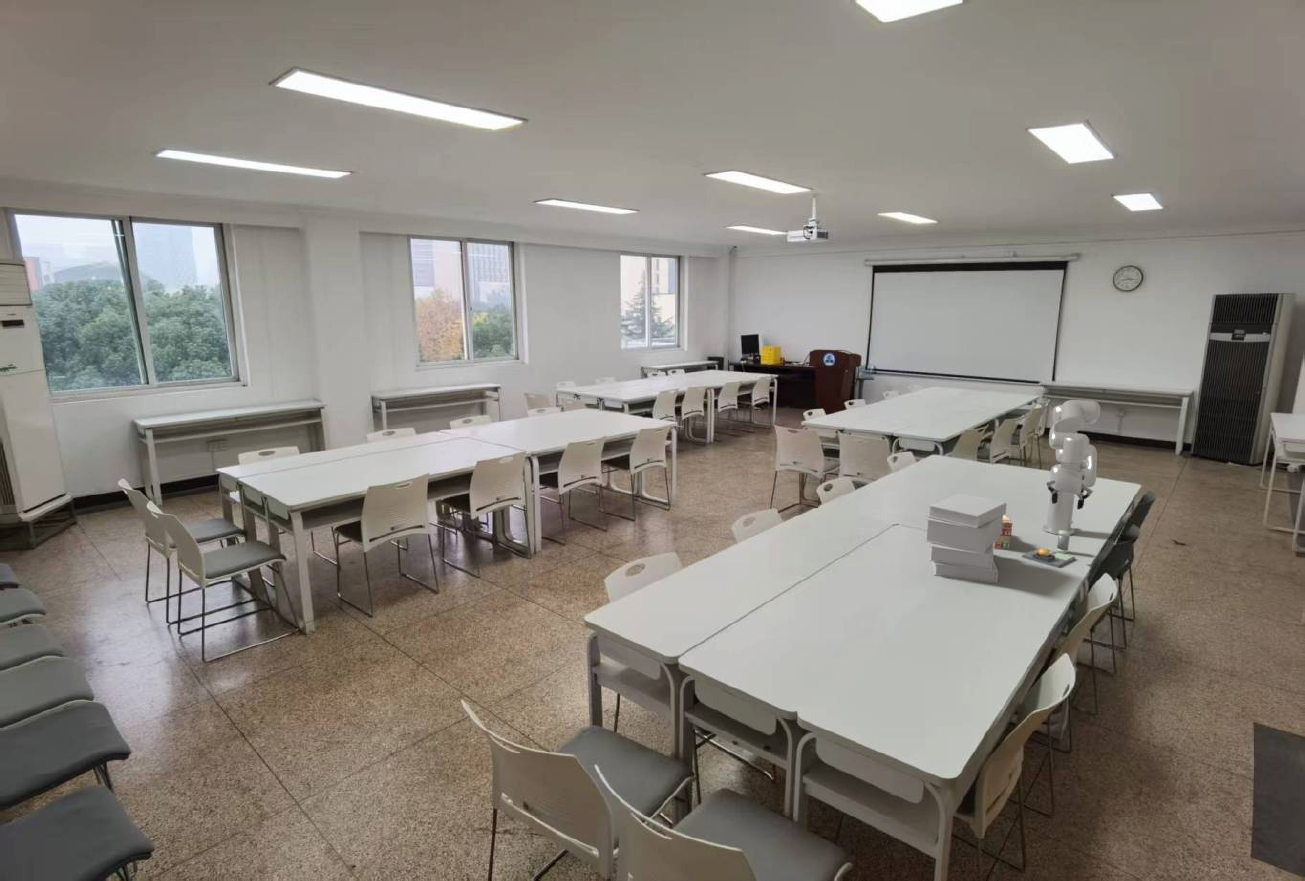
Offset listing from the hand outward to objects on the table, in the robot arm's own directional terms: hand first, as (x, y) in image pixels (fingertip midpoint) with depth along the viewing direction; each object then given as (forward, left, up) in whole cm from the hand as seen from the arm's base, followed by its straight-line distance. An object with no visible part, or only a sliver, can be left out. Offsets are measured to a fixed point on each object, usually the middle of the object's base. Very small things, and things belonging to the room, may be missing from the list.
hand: (1066, 505), depth 273 cm
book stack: (+47, -18, -21) cm, 54 cm away
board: (+12, 0, -20) cm, 24 cm away
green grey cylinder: (0, 0, -20) cm, 20 cm away
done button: (+17, 0, -18) cm, 25 cm away
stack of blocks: (+9, -24, -21) cm, 33 cm away
